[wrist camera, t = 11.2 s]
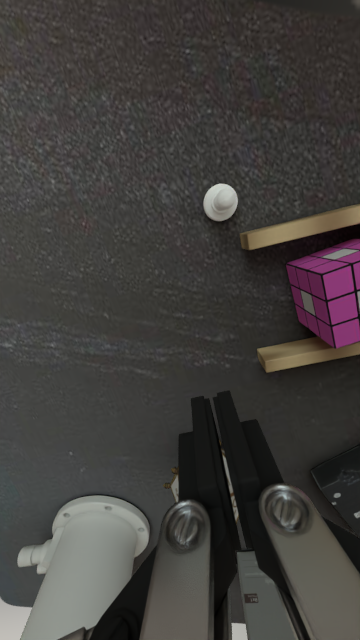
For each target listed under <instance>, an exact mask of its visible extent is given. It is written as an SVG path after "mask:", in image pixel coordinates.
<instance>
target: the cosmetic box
mask: <svg viewBox="0 0 360 640" xmlns="http://www.w3.org/2000/svg"><path fill="white" fill-rule="evenodd" d="M237 561H238V571H239V580H240V587H241V595H242V602H243V609H244V616H245V623H246V630H247V636H248V640H296V639H295V636H294V634H293V631H292V629H291V626H290V623H289V621H288V618H287V616H286V613H285V611H284V608H283V606H282V603H281V601H280V598H279V595H278V593H277V590H276V588H275V585H274V581H273V580H272V579H270V578H269V577H268V576H267V575H266V574H265V573H264V572H262V571H261V570H260V569H259V568H258V564H257V561H256V557H255V552H254V551H248V552H237Z"/></svg>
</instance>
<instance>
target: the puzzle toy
mask: <svg viewBox="0 0 360 640" xmlns="http://www.w3.org/2000/svg"><path fill="white" fill-rule="evenodd" d="M286 268H287V272H288V276H289V281H290V284H291V289H292V293H293V298H294V302H295V306H296V311H297V315H298V319H299V322H301V323H302V324H303V325H305V326H306V327H307V328H308V329H310V330H311V331H312V332H314V333H315V334H316V335H318V336H319V337H320V338H322V339H323V340H324V341H325V342H327V343H328V344H329V345H331V346H332V347H333V348H335V349H337V348H340V347H343V346H346V345H349V344H353V343H356V342H359V341H360V239H351V240H348V241H345V242H343V243H340V244H337V245H335V246H332V247H329V248H326V249H324V250H321V251H318V252H316V253H313V254H310V255H308V256H305V257H302V258H299V259H297V260H294V261H291V262H289V263H287V264H286Z"/></svg>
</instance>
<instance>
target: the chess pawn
mask: <svg viewBox="0 0 360 640" xmlns="http://www.w3.org/2000/svg"><path fill="white" fill-rule="evenodd" d="M237 203H238V199H237V195H236V192H235V191H234V189H233V188H232V187H230V186H229V185H226V184H217V185H215V186H213V187H212V188H210V189H209V191H208V192H207V193H206V195H205V197H204V201H203V207H204V211H205V213H206V215H207V216H208V217H209V218H210V219H212V220H214V221H223V220H226V219H228V218H229V217H231V216H232V215H233V213H234V212H235V210H236V208H237Z"/></svg>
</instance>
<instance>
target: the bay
mask: <svg viewBox="0 0 360 640" xmlns="http://www.w3.org/2000/svg"><path fill="white" fill-rule="evenodd" d="M356 224H360V204H356V205H352V206H348V207H344V208H340V209H336V210H332V211H328V212H324V213H320V214H316V215H312V216H308V217H304V218H300V219H296V220H292V221H288V222H284V223H280V224H276V225H272V226H268V227H264V228H260V229H256V230H252V231H248V232H244V233H240V240H241V246H242V248H243V249H247V250H253V249H257V248H261V247H266V246H270V245H274V244H278V243H282V242H286V241H290V240H294V239H298V238H302V237H307V236H311V235H315V234H319V233H323V232H327V231H331V230H335V229H339V228H343V227H348V226H352V225H356ZM257 354H258V359H259V361H260V363H261V364H262V366H263V368H264V369H265V371H266V372H267V373H268V372H273V371H278V370H283V369H288V368H293V367H298V366H303V365H308V364H313V363H318V362H323V361H328V360H333V359H338V358H343V357H348V356H353V355H358V354H360V341H359V342H356V343H353V344H349V345H346V346H343V347H340V348H337V349H335V348H333V347H332V346H331V345H329V344H328V343H327V342H325V341H324V340H323V339H322V338H320V337H319V336H317V337H312V338H307V339H303V340H298V341H293V342H288V343H283V344H279V345H274V346H269V347H264V348H259V349H257Z"/></svg>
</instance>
